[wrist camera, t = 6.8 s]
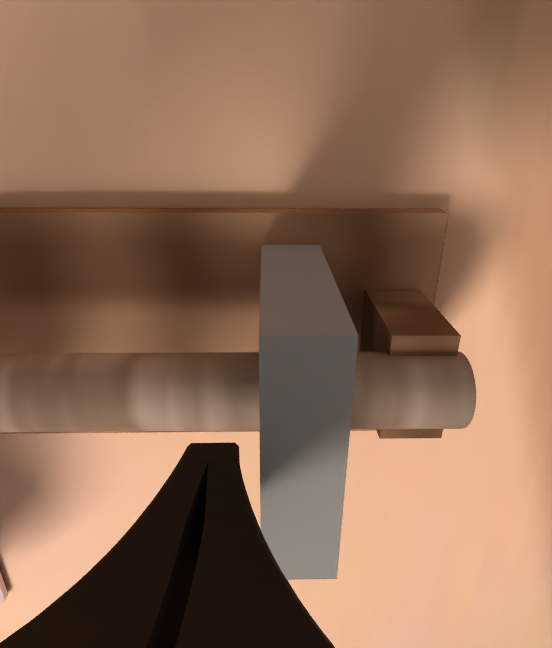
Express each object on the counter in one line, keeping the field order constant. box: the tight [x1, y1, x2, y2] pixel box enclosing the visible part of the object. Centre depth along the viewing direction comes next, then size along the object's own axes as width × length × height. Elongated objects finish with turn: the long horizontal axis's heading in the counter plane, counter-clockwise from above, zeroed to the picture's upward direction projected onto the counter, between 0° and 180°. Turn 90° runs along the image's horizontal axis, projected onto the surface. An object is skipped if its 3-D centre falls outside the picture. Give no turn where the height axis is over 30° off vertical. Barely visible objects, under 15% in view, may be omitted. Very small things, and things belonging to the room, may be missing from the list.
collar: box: [259, 245, 358, 580], centre depth 17 cm, size 2×9×9 cm, turn 0°
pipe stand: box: [0, 208, 476, 438], centre depth 18 cm, size 24×11×7 cm, turn 90°
